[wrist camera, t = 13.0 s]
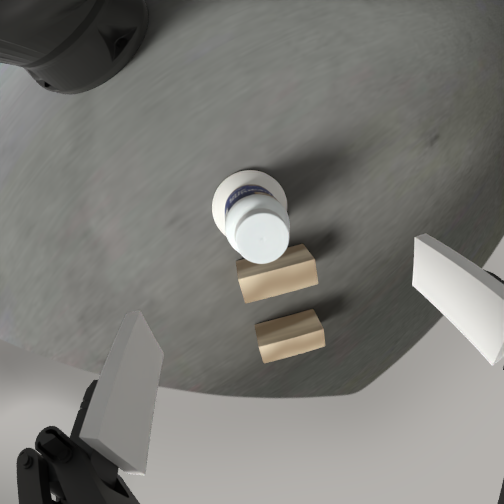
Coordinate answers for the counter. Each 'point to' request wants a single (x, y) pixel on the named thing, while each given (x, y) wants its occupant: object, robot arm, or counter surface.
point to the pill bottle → (256, 224)
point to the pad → (239, 180)
